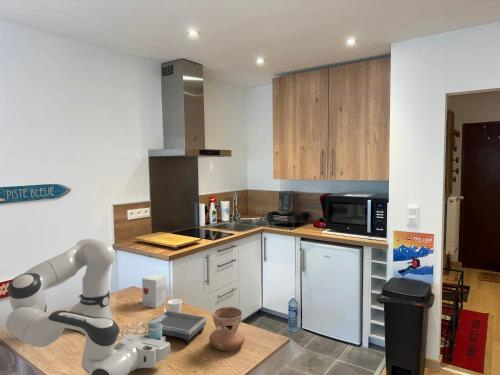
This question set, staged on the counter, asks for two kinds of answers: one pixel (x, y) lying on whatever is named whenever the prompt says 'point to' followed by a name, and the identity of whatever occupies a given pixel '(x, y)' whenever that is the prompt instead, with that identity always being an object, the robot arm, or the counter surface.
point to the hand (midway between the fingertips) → (156, 336)
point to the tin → (155, 330)
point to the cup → (174, 305)
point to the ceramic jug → (226, 329)
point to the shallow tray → (180, 324)
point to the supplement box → (154, 290)
